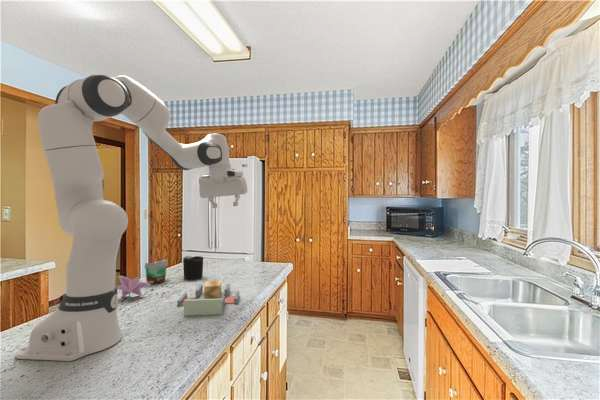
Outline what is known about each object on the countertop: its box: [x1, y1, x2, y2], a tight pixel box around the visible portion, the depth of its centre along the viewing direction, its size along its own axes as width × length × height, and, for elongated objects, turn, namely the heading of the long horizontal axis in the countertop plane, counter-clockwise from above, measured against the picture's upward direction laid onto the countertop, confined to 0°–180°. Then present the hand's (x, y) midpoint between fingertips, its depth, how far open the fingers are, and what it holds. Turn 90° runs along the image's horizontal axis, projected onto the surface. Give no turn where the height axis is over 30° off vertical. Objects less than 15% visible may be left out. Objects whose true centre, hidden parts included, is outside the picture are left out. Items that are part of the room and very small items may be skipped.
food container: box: [144, 257, 169, 285], centre depth 140 cm, size 12×6×10 cm, turn 168°
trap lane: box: [176, 283, 240, 316], centre depth 114 cm, size 22×26×5 cm
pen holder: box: [182, 255, 204, 281], centre depth 148 cm, size 9×9×10 cm
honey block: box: [203, 280, 222, 299], centre depth 122 cm, size 6×8×5 cm
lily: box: [115, 275, 151, 303], centre depth 117 cm, size 12×12×10 cm
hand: (225, 206), depth 125 cm, fingers open, 8 cm apart
